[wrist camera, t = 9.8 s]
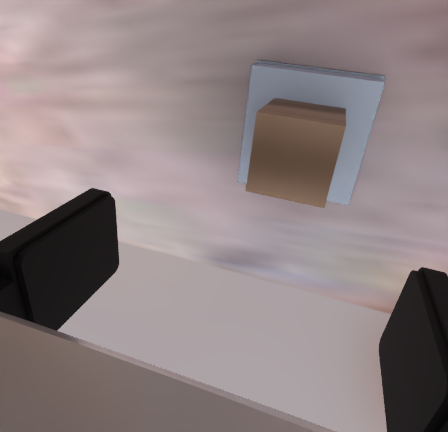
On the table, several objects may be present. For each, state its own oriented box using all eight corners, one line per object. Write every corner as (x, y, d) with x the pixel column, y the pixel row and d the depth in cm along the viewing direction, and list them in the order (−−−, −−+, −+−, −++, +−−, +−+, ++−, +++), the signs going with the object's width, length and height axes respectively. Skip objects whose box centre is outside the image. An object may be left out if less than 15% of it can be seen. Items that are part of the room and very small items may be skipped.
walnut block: (275, 97, 25) (256, 111, 20) (345, 108, 24) (345, 126, 19) (264, 163, 27) (245, 190, 22) (328, 175, 26) (324, 207, 21)
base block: (258, 59, 27) (249, 61, 24) (384, 75, 25) (389, 79, 22) (243, 172, 31) (234, 183, 29) (349, 193, 29) (350, 208, 27)
